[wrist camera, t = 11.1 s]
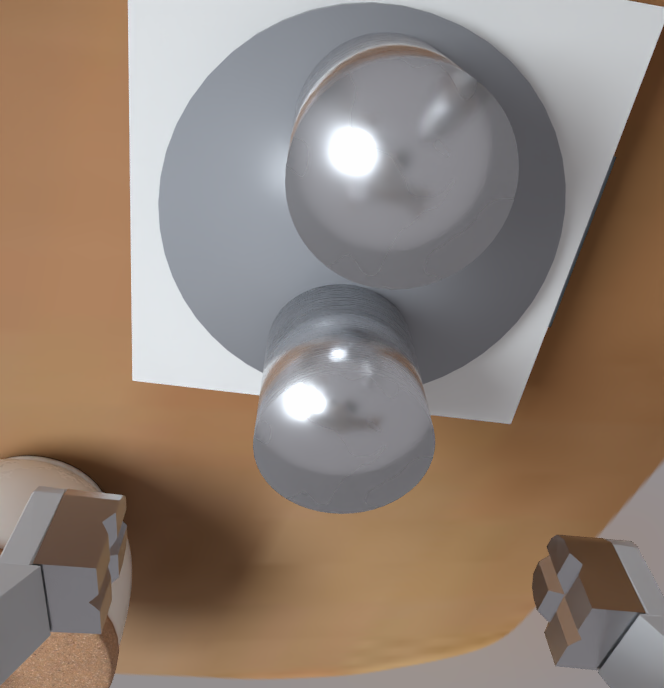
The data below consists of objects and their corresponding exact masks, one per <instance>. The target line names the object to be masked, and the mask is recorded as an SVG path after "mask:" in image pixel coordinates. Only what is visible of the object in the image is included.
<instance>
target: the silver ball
mask: <svg viewBox="0 0 664 688" xmlns="http://www.w3.org/2000/svg"><path fill="white" fill-rule="evenodd" d="M518 175H519V156H518V150H517V144H516V139H515V136H514V133H513V129H512V126H511V124H510V122H509V120H508V118H507V116H506V114H505V112H504V110H503V109H502V107H501V106H500V104H499V103H498V101H497V100H496V99H495V97H494V96H493V95H492V94H491V93H490V92H489V91H488V90H487V89H486V88H485V87H484V86H483V85H482V84H481V83H479V82H478V81H477V80H476V79H475V78H473V77H472V76H471V75H469V74H468V73H467V72H465V71H464V70H463V69H461V68H460V67H459V66H457V65H456V64H455V63H454V62H452V61H451V60H450V59H448V58H447V57H446V56H444V55H443V54H442V53H440V52H439V51H438V50H436V49H435V48H434V47H432V46H431V45H429V44H427V43H426V42H424V41H422V40H420V39H417V38H415V37H412V36H409V35H405V34H401V33H392V32H378V33H371V34H366V35H362V36H359V37H356V38H353V39H350V40H349V41H347V42H345V43H343V44H341V45H339V46H338V47H336V48H335V49H333V50H332V51H330V52H329V53H328V54H327V55H326V56H325V57H324V58H323V59H322V60H321V61H320V62H319V63H318V64H317V65H316V66H315V68H314V69H313V70H312V72H311V73H310V75H309V76H308V78H307V79H306V81H305V83H304V85H303V88H302V90H301V92H300V95H299V98H298V101H297V105H296V110H295V115H294V121H293V127H292V133H291V139H290V145H289V151H288V157H287V163H286V171H285V190H286V199H287V204H288V208H289V213H290V215H291V218H292V221H293V224H294V226H295V228H296V230H297V232H298V234H299V236H300V238H301V239H302V240H303V242H304V243H305V245H306V246H307V248H308V249H309V250H310V251H311V252H312V253H313V255H314V256H315V257H316V258H317V259H318V260H319V261H320V262H322V263H323V264H324V265H325V266H326V267H328V268H329V269H330V270H332V271H334V272H335V273H337V274H338V275H340V276H342V277H344V278H346V279H348V280H350V281H352V282H355V283H358V284H362V285H365V286H369V287H374V288H379V289H393V290H394V289H409V288H415V287H421V286H425V285H428V284H432V283H435V282H437V281H440V280H442V279H445V278H447V277H449V276H451V275H453V274H455V273H456V272H458V271H460V270H461V269H463V268H464V267H466V266H467V265H468V264H470V263H471V262H473V261H474V260H475V259H476V258H477V257H478V256H479V255H480V254H481V253H483V251H484V250H485V249H486V248H487V247H488V246H489V245H490V244H491V242H492V241H493V240H494V238H495V237H496V236H497V234H498V233H499V231H500V230H501V228H502V226H503V224H504V223H505V221H506V219H507V217H508V215H509V212H510V209H511V207H512V204H513V202H514V198H515V194H516V189H517V184H518Z"/></svg>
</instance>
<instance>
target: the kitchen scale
mask: <svg viewBox="0 0 664 688" xmlns="http://www.w3.org/2000/svg"><path fill="white" fill-rule="evenodd" d="M663 25H664V7H661V6H655V5H650V4H644V3H639V2H634V1H628V0H128V44H129V127H130V211H131V294H132V377H133V381H140V382H149V383H158V384H167V385H175V386H184V387H193V388H201V389H210V390H219V391H227V392H236V393H245V394H253V395H260V389H261V382H262V375H263V368H264V361H265V353H266V346H267V339H268V335H269V331H270V328H271V325H272V323H273V321H274V319H275V318H276V316H277V315H278V313H279V312H280V311H281V309H282V308H283V307H284V306H285V305H286V304H287V303H288V302H290V301H291V300H292V299H294V298H295V297H297V296H298V295H300V294H302V293H304V292H306V291H308V290H311V289H313V288H317V287H320V286H325V285H331V284H349V285H356V286H361V287H364V288H367V289H370V290H373V291H375V292H377V293H379V294H381V295H382V296H384V297H385V298H387V299H388V300H389V301H390V302H392V303H393V304H394V305H395V306H396V307H397V308H398V310H399V311H400V312H401V313H402V315H403V317H404V318H405V320H406V322H407V324H408V327H409V330H410V334H411V338H412V342H413V346H414V350H415V354H416V359H417V363H418V367H419V371H420V375H421V379H422V383H423V388H424V392H425V396H426V400H427V404H428V408H429V412H430V415H436V416H445V417H453V418H462V419H471V420H479V421H488V422H497V423H505V424H511V422H512V420H513V417H514V414H515V412H516V409H517V407H518V404H519V401H520V399H521V396H522V394H523V391H524V388H525V386H526V383H527V380H528V378H529V375H530V373H531V370H532V367H533V365H534V362H535V360H536V357H537V354H538V352H539V349H540V346H541V344H542V341H543V339H544V336H545V333H546V331H547V328H548V327H551V325H552V323H553V320H554V318H555V315H556V312H557V310H558V307H559V305H560V302H561V299H562V297H563V294H564V292H565V289H566V286H567V284H568V281H569V279H570V276H571V273H572V271H573V268H574V266H575V263H576V260H577V258H578V255H579V253H580V250H581V247H582V245H583V242H584V240H585V237H586V235H587V232H588V229H589V227H590V224H591V222H592V219H593V216H594V214H595V211H596V209H597V206H598V203H599V201H600V198H601V196H602V193H603V190H604V188H605V185H606V183H607V180H608V177H609V175H610V172H611V170H612V167H613V164H614V162H615V159H616V157H615V156H614V153H615V150H616V148H617V145H618V143H619V140H620V137H621V135H622V132H623V130H624V127H625V124H626V122H627V119H628V116H629V114H630V111H631V109H632V106H633V103H634V101H635V98H636V96H637V93H638V90H639V88H640V85H641V83H642V80H643V77H644V75H645V72H646V69H647V67H648V64H649V62H650V59H651V56H652V54H653V51H654V49H655V46H656V43H657V41H658V38H659V35H660V33H661V30H662V28H663ZM378 32H392V33H401V34H405V35H409V36H412V37H415V38H417V39H420V40H422V41H424V42H426V43H427V44H429V45H431V46H432V47H434V48H435V49H436V50H438V51H439V52H440V53H442V54H443V55H444V56H446V57H447V58H448V59H450V60H451V61H452V62H454V63H455V64H456V65H457V66H459V67H460V68H461V69H463V70H464V71H465V72H467V73H468V74H469V75H471V76H472V77H473V78H475V79H476V80H477V81H478V82H479V83H481V84H482V85H483V86H484V87H485V88H486V89H487V90H488V91H489V92H490V93H491V94H492V95H493V96H494V97H495V99H496V100H497V101H498V103H499V104H500V106H501V107H502V109H503V110H504V112H505V114H506V116H507V118H508V120H509V122H510V124H511V126H512V129H513V133H514V136H515V139H516V144H517V150H518V156H519V175H518V184H517V189H516V194H515V198H514V202H513V204H512V207H511V209H510V212H509V215H508V217H507V219H506V221H505V223H504V224H503V226H502V228H501V230H500V231H499V233H498V234H497V236H496V237H495V238H494V240H493V241H492V242H491V244H490V245H489V246H488V247H487V248H486V249H485V250H484V251H483V253H481V254H480V255H479V256H478V257H477V258H476V259H475V260H474V261H473V262H471V263H470V264H468V265H467V266H466V267H464V268H463V269H461V270H460V271H458V272H456V273H455V274H453V275H451V276H449V277H447V278H445V279H442V280H440V281H437V282H435V283H432V284H428V285H425V286H421V287H415V288H409V289H394V290H393V289H379V288H374V287H369V286H365V285H362V284H358V283H355V282H352V281H350V280H348V279H346V278H344V277H342V276H340V275H338V274H337V273H335V272H334V271H332V270H330V269H329V268H328V267H326V266H325V265H324V264H323V263H322V262H320V261H319V260H318V259H317V258H316V257H315V256H314V255H313V253H312V252H311V251H310V250H309V249H308V248H307V246H306V245H305V243H304V242H303V240H302V239H301V238H300V236H299V234H298V232H297V230H296V228H295V226H294V224H293V221H292V218H291V215H290V213H289V208H288V204H287V199H286V190H285V171H286V163H287V157H288V151H289V145H290V139H291V133H292V127H293V121H294V115H295V110H296V105H297V101H298V98H299V95H300V92H301V90H302V88H303V85H304V83H305V81H306V79H307V78H308V76H309V75H310V73H311V72H312V70H313V69H314V68H315V66H316V65H317V64H318V63H319V62H320V61H321V60H322V59H323V58H324V57H325V56H326V55H327V54H328V53H329V52H330V51H332V50H333V49H335V48H336V47H338V46H339V45H341V44H343V43H345V42H347V41H349V40H350V39H353V38H356V37H359V36H362V35H366V34H371V33H378Z"/></svg>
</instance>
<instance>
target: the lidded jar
mask: <svg viewBox="0 0 664 688" xmlns="http://www.w3.org/2000/svg"><path fill="white" fill-rule="evenodd" d="M38 486H45V487H55V488H64V489H75V490H83V491H92V492H100V493H103V492H102V490H101V489H100V488H99V486H98V485H97V484H96V483H95V482H94V481H93V480H92V479H91V478H90V477H88V476H87V475H86V474H84V473H83V472H82V471H80V470H78V469H76V468H75V467H73V466H71V465H68V464H66V463H64V462H61V461H58V460H55V459H51V458H46V457H41V456H15V457H9V458H6V459H0V555H1V553H2V551H3V549H4V547H5V545H6V543H7V542H8V540H9V538H10V536H11V534H12V532H13V530H14V528H15V526H16V524H17V522H18V520H19V518H20V516H21V514H22V512H23V510H24V508H25V506H26V504H27V502H28V500H29V498H30V496H31V494H32V493H33V491H34V490H35V489H36V488H37V487H38ZM111 587H112V602H111V605H110V608H109V611H108V614H107V618H106V621H105V624H104V627H103V630H102V634H86V633H63V632H50V633H51V635H50V636H49V637H48V638H47V639H46V640H45V641H44V642H43V643H42V644H41V645H40V646H39V647H38V648H37V649H36V650H35V651H34V652H33V653H32V654H31V655H30V656H29V657H28V658H27V659H26V660H25V661H24V662H23V663H22V664H21V665H20V666H19V667H18V668H17V669H16V670H15V671H14V672H13V673H12V674H11V675H10V676H9V677H8V678H7V679H6V680H5V681H4V682H3V683H2V685H1V686H0V688H109V687H110V685H111V683H112V680H113V677H114V674H115V670H116V666H117V660H118V654H119V645H120V642H121V639H122V635H123V631H124V627H125V623H126V619H127V613H128V608H129V601H130V594H131V588H132V559H131V551H130V546H129V541H128V538H127V543H126V550H125V555H124V560H123V565H122V568H121V572H120V575H119V578H118V579H116V580H115V581H114V582H113V583H112V584H111Z"/></svg>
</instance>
